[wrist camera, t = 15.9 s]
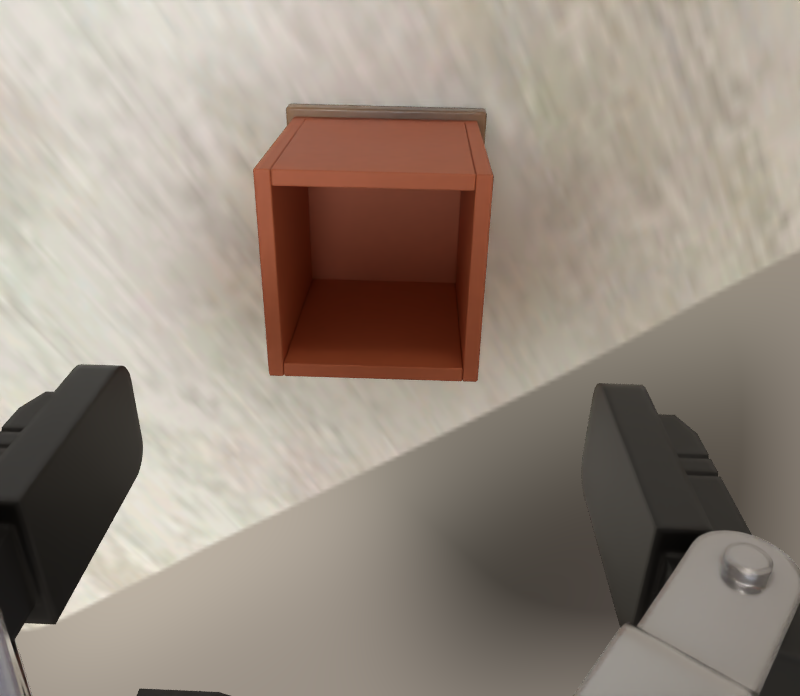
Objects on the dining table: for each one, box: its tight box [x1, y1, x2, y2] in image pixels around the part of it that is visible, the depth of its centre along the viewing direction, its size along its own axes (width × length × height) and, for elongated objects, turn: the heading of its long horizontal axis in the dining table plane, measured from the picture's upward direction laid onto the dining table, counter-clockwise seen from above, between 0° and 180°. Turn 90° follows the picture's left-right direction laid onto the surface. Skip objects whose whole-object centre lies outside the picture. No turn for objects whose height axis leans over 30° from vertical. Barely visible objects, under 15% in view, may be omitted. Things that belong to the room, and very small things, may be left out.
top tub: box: [253, 116, 494, 382], centre depth 21 cm, size 6×6×6 cm
